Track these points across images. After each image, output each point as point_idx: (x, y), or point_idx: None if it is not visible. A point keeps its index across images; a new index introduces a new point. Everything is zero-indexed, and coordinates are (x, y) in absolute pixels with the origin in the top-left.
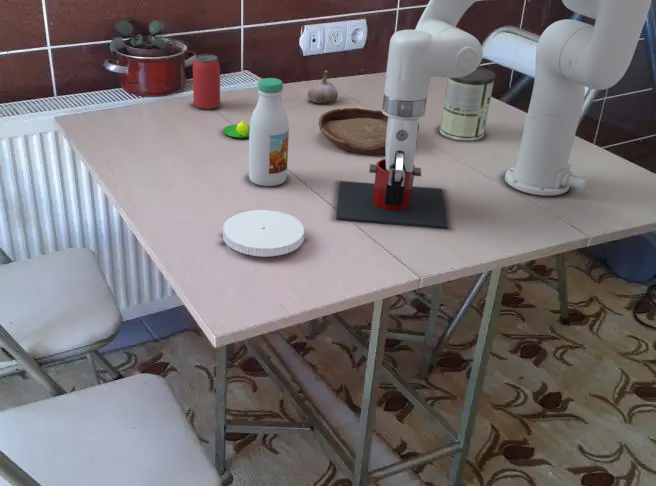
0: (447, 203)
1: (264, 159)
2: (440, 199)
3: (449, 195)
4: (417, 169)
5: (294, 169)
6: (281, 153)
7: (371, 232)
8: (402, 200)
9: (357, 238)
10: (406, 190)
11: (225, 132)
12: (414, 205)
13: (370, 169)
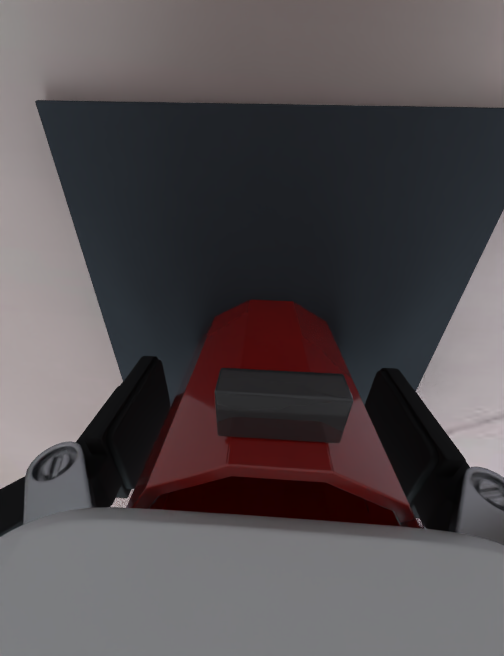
0: (203, 72)
1: None
2: (191, 124)
3: (82, 41)
4: (264, 420)
5: None
6: None
7: (463, 414)
8: (409, 384)
9: (488, 443)
10: (354, 384)
11: None
12: (286, 280)
13: None
